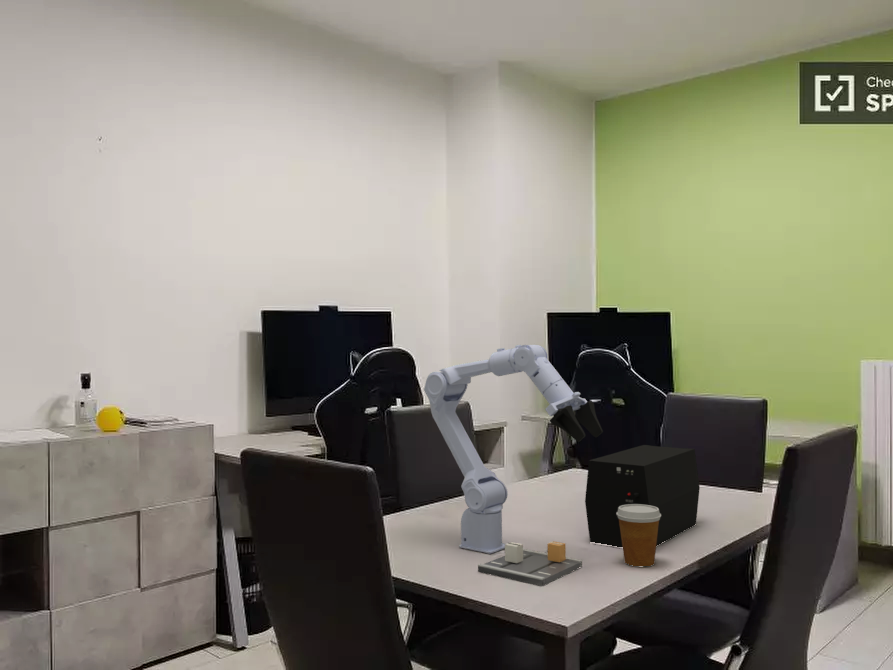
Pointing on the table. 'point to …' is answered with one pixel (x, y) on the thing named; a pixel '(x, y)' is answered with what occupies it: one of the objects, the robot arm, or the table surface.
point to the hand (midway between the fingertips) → (590, 436)
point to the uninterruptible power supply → (642, 490)
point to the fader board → (530, 568)
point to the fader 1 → (514, 552)
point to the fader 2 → (556, 551)
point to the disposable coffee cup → (639, 533)
